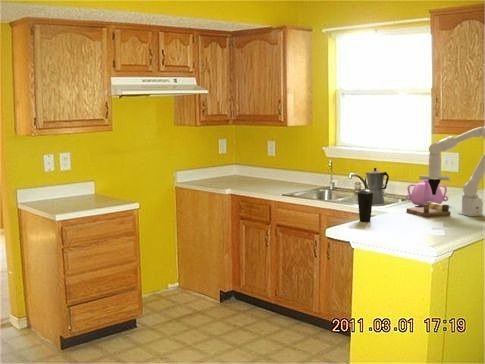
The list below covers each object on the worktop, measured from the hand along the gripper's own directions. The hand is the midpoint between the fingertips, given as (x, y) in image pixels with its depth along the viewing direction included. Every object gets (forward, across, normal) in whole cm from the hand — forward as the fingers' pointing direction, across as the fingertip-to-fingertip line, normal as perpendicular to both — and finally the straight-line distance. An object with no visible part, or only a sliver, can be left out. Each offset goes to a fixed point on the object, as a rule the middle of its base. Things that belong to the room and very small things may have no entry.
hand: (434, 194), depth 295 cm
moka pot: (+9, -33, +16) cm, 38 cm away
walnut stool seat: (+9, -2, -5) cm, 11 cm away
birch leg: (+7, +2, -1) cm, 7 cm away
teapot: (+9, -7, +22) cm, 25 cm away
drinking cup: (+9, -25, -36) cm, 45 cm away
